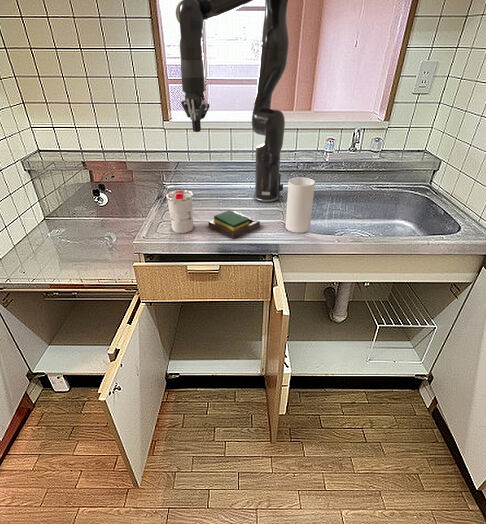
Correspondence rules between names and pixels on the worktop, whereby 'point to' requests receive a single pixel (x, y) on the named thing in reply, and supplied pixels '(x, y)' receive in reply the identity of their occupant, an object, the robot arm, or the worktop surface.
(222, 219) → the sponge
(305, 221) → the cup
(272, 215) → the worktop surface
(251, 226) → the sponge rack
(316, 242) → the worktop surface
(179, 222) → the white canister
